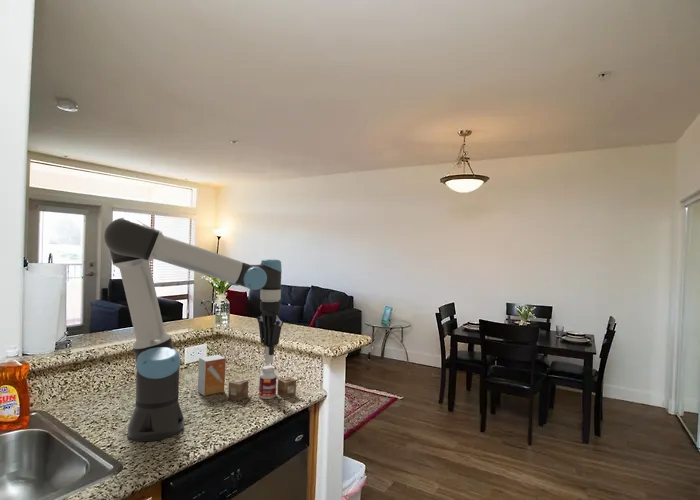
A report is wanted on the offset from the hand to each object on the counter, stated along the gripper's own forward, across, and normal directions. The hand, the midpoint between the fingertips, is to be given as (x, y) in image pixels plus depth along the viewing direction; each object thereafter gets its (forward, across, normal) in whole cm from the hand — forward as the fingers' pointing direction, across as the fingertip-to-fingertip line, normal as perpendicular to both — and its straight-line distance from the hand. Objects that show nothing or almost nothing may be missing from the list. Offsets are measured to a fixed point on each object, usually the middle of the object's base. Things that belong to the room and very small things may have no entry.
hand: (268, 362), depth 148 cm
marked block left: (+13, +7, +8) cm, 17 cm away
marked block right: (+13, -4, -6) cm, 14 cm away
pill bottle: (+13, 0, 0) cm, 13 cm away
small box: (+13, +19, +12) cm, 26 cm away
